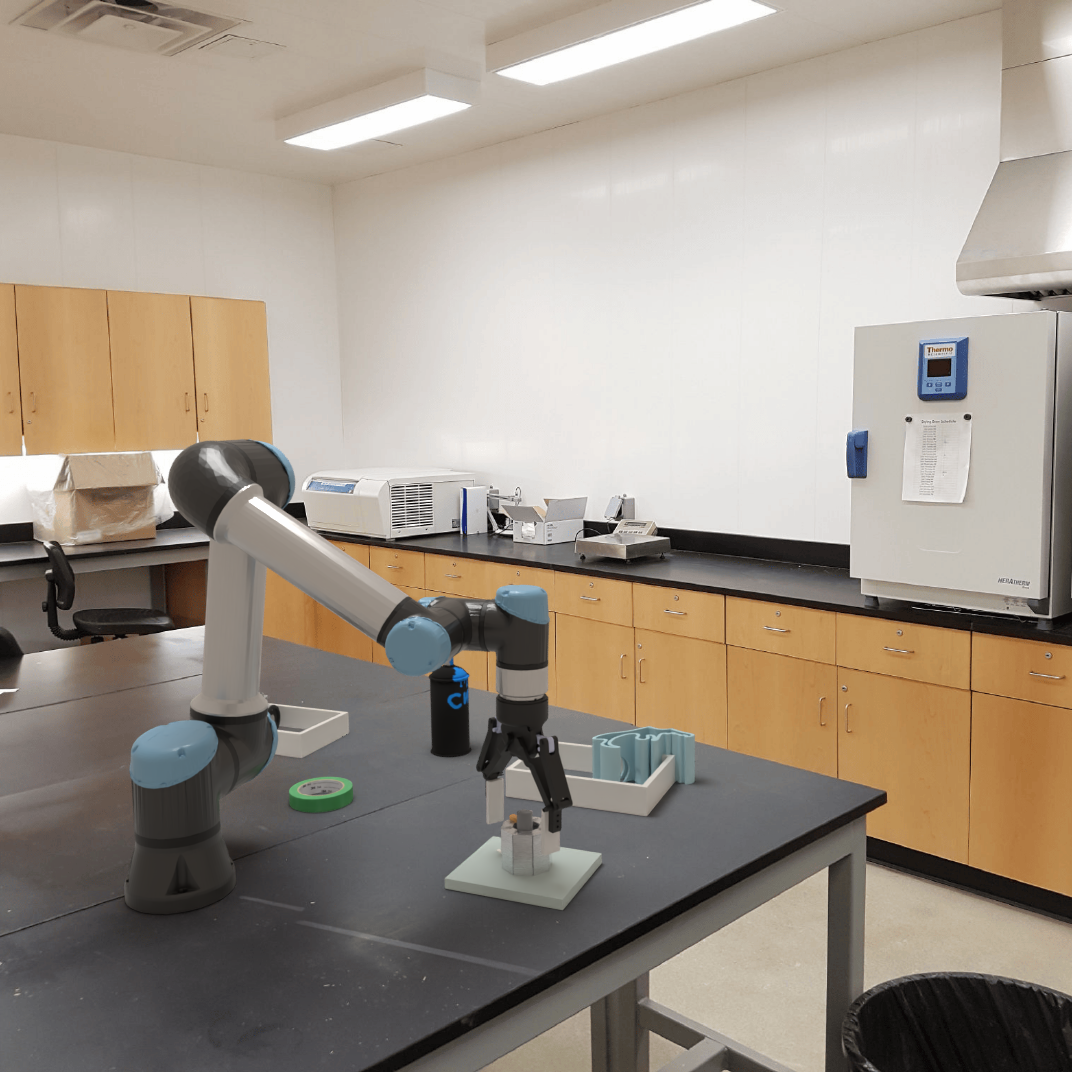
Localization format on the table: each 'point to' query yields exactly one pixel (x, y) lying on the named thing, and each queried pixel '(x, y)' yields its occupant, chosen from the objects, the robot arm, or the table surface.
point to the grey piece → (523, 849)
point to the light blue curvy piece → (642, 754)
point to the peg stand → (541, 890)
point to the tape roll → (311, 803)
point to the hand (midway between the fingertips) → (521, 836)
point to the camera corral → (309, 729)
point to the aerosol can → (449, 711)
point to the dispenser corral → (595, 783)
